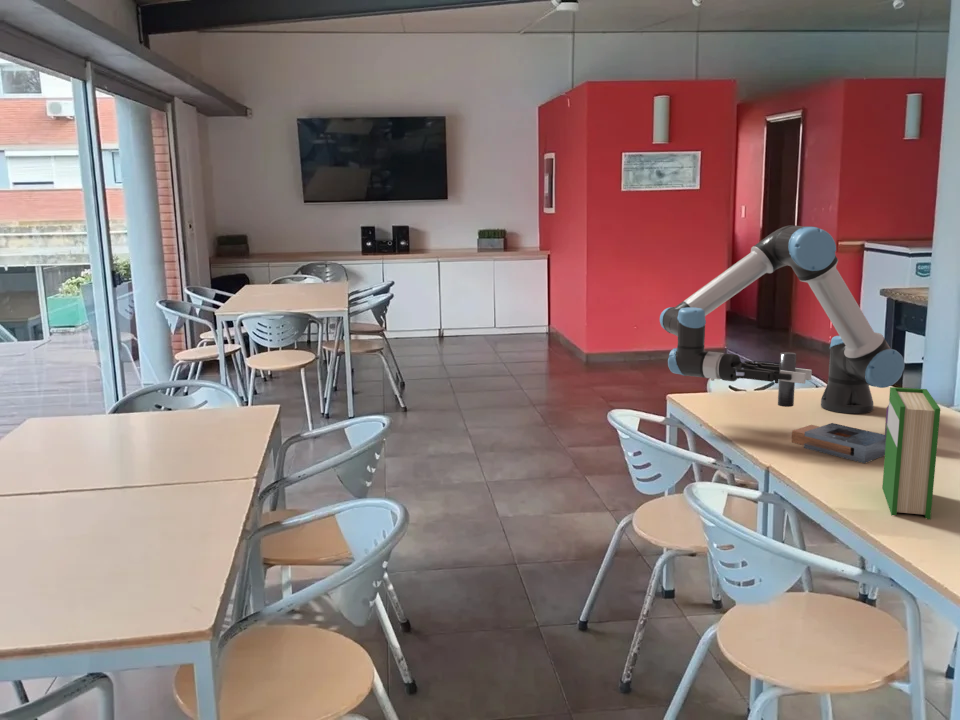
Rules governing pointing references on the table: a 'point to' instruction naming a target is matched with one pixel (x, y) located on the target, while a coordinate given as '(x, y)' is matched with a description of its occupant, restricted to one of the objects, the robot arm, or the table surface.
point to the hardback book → (910, 451)
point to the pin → (785, 387)
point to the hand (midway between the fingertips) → (807, 376)
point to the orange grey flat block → (841, 441)
